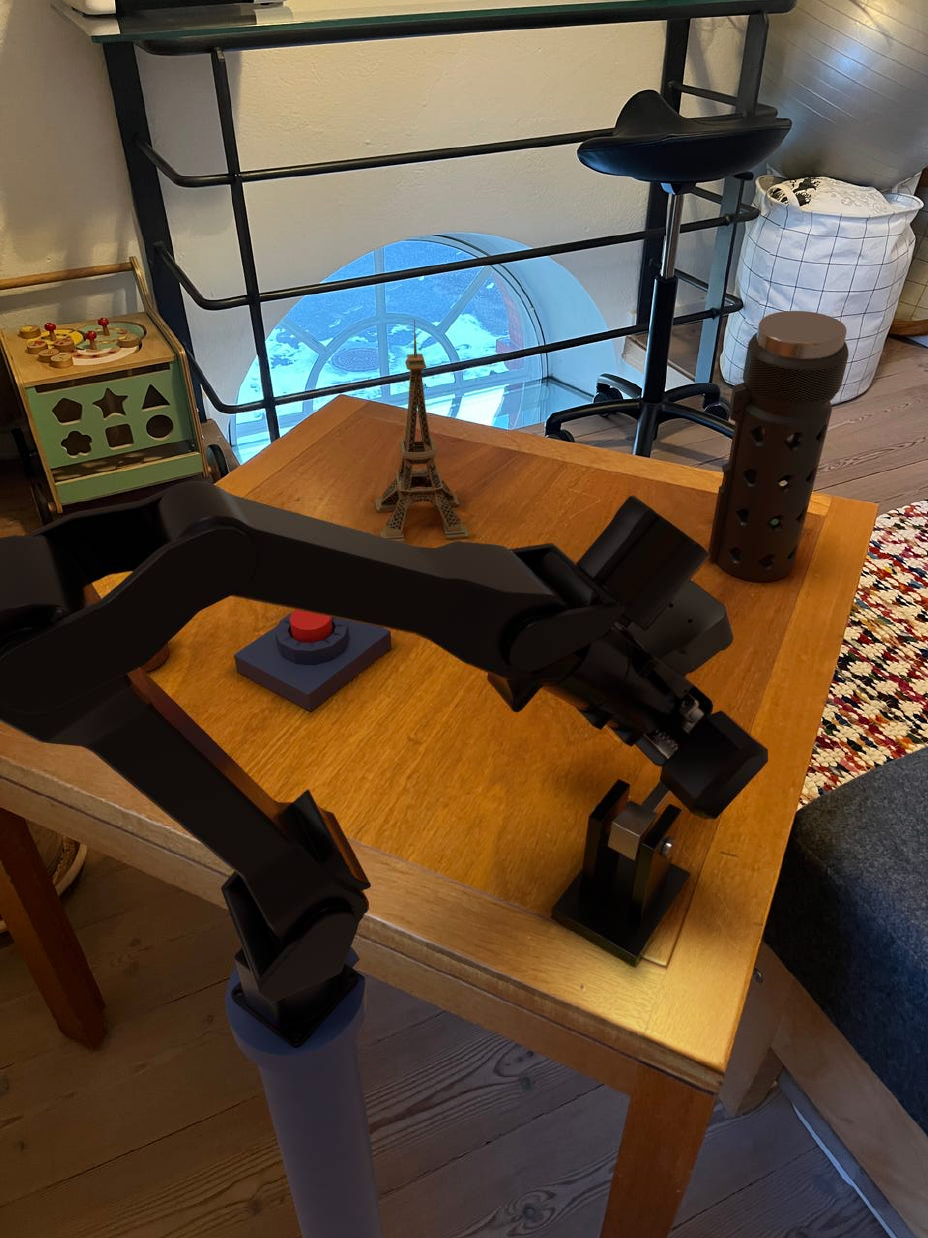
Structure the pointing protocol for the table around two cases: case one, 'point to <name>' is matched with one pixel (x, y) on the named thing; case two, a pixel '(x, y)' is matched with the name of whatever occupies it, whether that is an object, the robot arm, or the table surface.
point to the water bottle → (776, 442)
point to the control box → (311, 660)
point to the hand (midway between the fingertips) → (698, 733)
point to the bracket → (623, 883)
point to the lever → (637, 822)
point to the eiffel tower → (409, 478)
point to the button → (310, 626)
